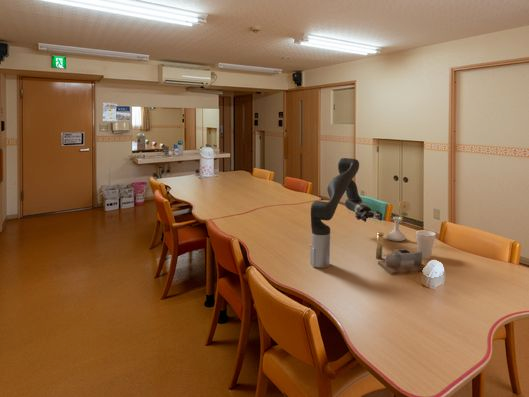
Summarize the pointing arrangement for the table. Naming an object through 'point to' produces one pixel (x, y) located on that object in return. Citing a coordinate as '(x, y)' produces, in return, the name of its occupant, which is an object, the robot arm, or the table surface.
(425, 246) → the foam cup
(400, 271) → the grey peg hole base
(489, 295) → the table surface
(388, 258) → the grey winged socket holder
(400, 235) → the flower in vase
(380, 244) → the brass capped peg
